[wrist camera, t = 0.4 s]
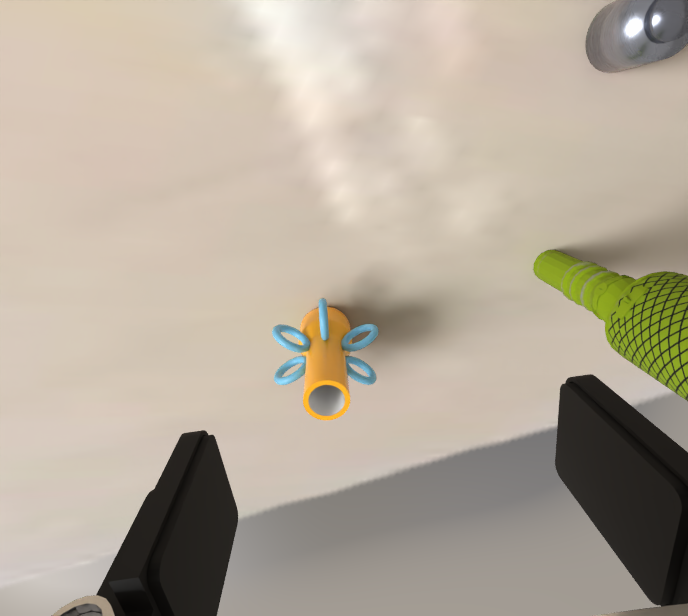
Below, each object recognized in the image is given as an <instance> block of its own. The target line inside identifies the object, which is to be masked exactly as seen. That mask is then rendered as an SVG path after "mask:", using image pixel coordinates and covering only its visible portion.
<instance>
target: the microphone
mask: <svg viewBox="0 0 688 616" xmlns="http://www.w3.org/2000/svg"><path fill="white" fill-rule="evenodd" d="M533 270H534V272H535V275H536V276H537V277H538V278H539V279H541V280H543V281H544V282H546V283H547V284H549V285H551V286H553V287H554V288H556V289H558V290H559V291H561V292H563V294H564V295H565V296H566V297H567V298H568V299H569V300H572V301H574V302H575V303H576V304H578V305H581V306H584V307H585V308H586V309H587V310H589V311H592V312H593V313H594V314H595V315H596V316H597V317H598V318H599V319H601V320H603V321H604V322H606V324H605V332H606V337H607V340H608V342H609V344H610V345H611V347H612V348H613V349H614V350H615V351H616V352H618V353H619V354H620V355H621V356H622V357H624V358H625V359H627V360H628V361H630V362H631V363H633V364H634V365H636V366H637V367H638V368H640V369H641V370H643V371H644V372H646V373H647V374H649V375H650V376H652V377H653V378H655V379H656V380H657V381H659V382H660V383H662V384H663V385H665V386H666V387H668V388H669V389H671V390H672V391H674V392H675V393H676V394H678V395H679V396H681V397H682V398H684V399H685V400H687V401H688V276H686V275H683V274H678V273H675V272H666V271H664V272H657V273H652V274H649V275H646V276H644V277H641V278H639V279H637V280H636V279H634V278H632V277H629V276H626V275H621V276H620V275H619V274H618V273H615V272H612V271H608V270H607V269H606V268H604V267H601V266H598V265H597V264H595V263H592V262H589V261H587V262H583V261H580V260H578V259H576V258H573V257H571V256H569V255H566V254H564V253H561V252H559V251H556V250H547V251H545V252H543V253H541V254H540V255H539V256H538V257H537V259H536V261H535V263H534V269H533Z"/></svg>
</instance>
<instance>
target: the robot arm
mask: <svg viewBox="0 0 688 616" xmlns="http://www.w3.org/2000/svg"><path fill="white" fill-rule="evenodd" d="M555 465H556V470H557V472H558V475H559V476H560V478H561V479H562V481H563V482H564V484H565V485H566V486H567V488H568V489H569V490H570V492H571V493H572V494H573V496H574V497H575V499H576V500H577V501H578V503H579V504H580V505H581V507H582V508H583V509H584V511H585V512H586V514H587V515H588V516H589V518H590V519H591V521H592V522H593V523H594V525H595V526H596V527H597V529H598V530H599V531H600V533H601V534H602V535H603V537H604V538H605V540H606V541H607V542H608V544H609V545H610V547H611V548H612V549H613V551H614V552H615V553H616V555H617V556H618V558H619V559H620V560H621V562H622V563H623V564H624V566H625V567H626V568H627V570H628V571H629V573H630V574H631V575H632V577H633V578H634V579H635V581H636V582H637V584H638V585H639V586H640V588H641V589H642V590H643V592H644V593H645V595H646V596H647V597H648V598H649V600H651V602H652V603H654V604H656V605H661V607H654V608H645V609H638V610H630V611H623V612H616V613H609V614H601V615H594V616H688V452H687V451H685V450H684V449H683V448H682V447H680V446H679V445H678V444H677V443H676V442H674V441H673V440H672V439H671V438H669V437H668V436H667V435H666V434H665V433H663V432H662V431H661V430H660V429H659V428H657V427H656V426H655V425H654V424H653V423H651V422H650V421H649V420H648V419H646V418H645V417H644V416H643V415H642V414H640V413H639V412H638V411H637V410H636V409H634V408H633V407H632V406H631V405H629V404H628V403H627V402H626V401H625V400H623V399H622V398H621V397H620V396H619V395H617V394H616V393H615V392H614V391H612V390H611V389H610V388H609V387H608V386H606V385H605V384H604V383H603V382H602V381H600V380H599V379H598V378H597V377H595V376H594V375H583V376H576V377H570V378H568V379H567V380H566V384H562V385H561V388H560V400H559V415H558V429H557V444H556V459H555ZM237 523H238V511H237V507H236V503H235V500H234V497H233V494H232V490H231V487H230V484H229V481H228V478H227V474H226V471H225V468H224V465H223V461H222V458H221V455H220V452H219V449H218V445H217V442H216V439H215V437H214V435H208V433H207V432H206V431H204V430H203V431H196V432H189V433H184V434H182V435H181V437H180V439H179V441H178V443H177V445H176V447H175V449H174V451H173V453H172V455H171V457H170V459H169V461H168V463H167V465H166V467H165V469H164V471H163V473H162V475H161V477H160V479H159V481H158V483H157V485H156V487H155V489H154V490H152V491H151V492H149V494H148V495H147V497H146V499H145V501H144V502H143V504H142V506H141V508H140V510H139V512H138V514H137V516H136V518H135V520H134V522H133V524H132V526H131V528H130V530H129V532H128V534H127V536H126V538H125V540H124V542H123V544H122V546H121V548H120V550H119V552H118V554H117V556H116V557H115V559H114V561H113V563H112V565H111V567H110V569H109V571H108V573H107V575H106V577H105V579H104V581H103V583H102V585H101V587H100V589H99V591H98V593H97V595H96V596H85V597H83V598H80V599H77V600H74V601H72V602H71V603H69V604H67V605H65V606H64V607H62V608H60V610H58V611H57V612H56V613H54V614H53V615H52V616H217V611H218V607H219V602H220V598H221V594H222V589H223V585H224V581H225V576H226V572H227V568H228V562H229V559H230V554H231V550H232V545H233V541H234V537H235V532H236V528H237Z"/></svg>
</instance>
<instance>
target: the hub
mask: <svg viewBox="0 0 688 616" xmlns="http://www.w3.org/2000/svg"><path fill="white" fill-rule="evenodd" d="M687 43H688V0H616V1H614V2H612V3H610V4H608V5H607V6H605V7H604V8H603V9H602V10H601V11H600V12H599V13H598V14H597V15H596V16H595V18H594V19H593V21H592V23H591V25H590V27H589V29H588V32H587V37H586V53H587V56H588V59H589V61H590V63H591V64H592V65H593V66H594V67H595V68H596V69H598V70H599V71H602V72H605V73H614V72H618V71H622V70H626V69H629V68H633V67H637V66H641V65H644V64H648V63H652V62H655V61H659V60H663V59H666V58H669V57H671V56H673V55H675V54H676V53H678V52H679V51H680V50H681V49H683V48H684V47H685V46H686V45H687Z"/></svg>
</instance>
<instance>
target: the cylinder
mask: <svg viewBox="0 0 688 616" xmlns="http://www.w3.org/2000/svg"><path fill="white" fill-rule="evenodd" d="M366 331H371V332H370V334H369V335H368V336H367V337H365V338H364V339H362V340H361V341H359V342H356V343H353V344H352V338H354V337H355V336H356V335H358V334H360V333H363V332H366ZM280 332H286V333H289V334H291V335H293V336H295V337H296V338H298V339H299V345H298V344H295V343H292V342H290V341H289V340H287V339H286V338H284V337H283V336H282V335H281V333H280ZM272 334H273V337H274V338H275V340H276V341H277V342H278V343H279V344H280V345H282V346H283V347H285V348H287V349H289V350H291V351H294V352H298V353H301V354H302V356H299V357H295V358H293V359H291V360H289V361H287V362H286V363H285V364H283V365H282V366H281V367H280V368H279V369H278V370H277V372H276V373H275V376H274V380H275V382H276V383H277V384H279V385H286V384H289V383H292V382H294V381H295V380H297V379H299V378H300V377H301V376H302V375H304V374H305V383H304V396H303V404H304V407H305V409H306V411H307V412H308V413H309V414H310V415H311V416H313V417H315V418H317V419H320V420H332V419H336V418H338V417H340V416H341V415H343V414H344V413H345V412H346V411H347V409H348V407H349V404H350V394H349V385H348V376H347V374H348V375H349V376H350V377H351V378H353V379H354V380H356V381H358V382H360V383H362V384H367V385H370V384H373V383H374V382H375V381H376V374H375V372H374V370H373V369H372V368H371V367H370V366H369V365H368V364H366V363H365V362H364V361H362V360H360V359H358V358H355V357H352V356H349V354H350V352H352V351H357V350H360V349H362V348H364V347H366V346H367V345H369V344H370V343H371V342H373V341H374V340H375V338H376V337H377V335H378V328H377V326H376V325H374V324H364V325H361V326H358V327H356V328H354V329H353V330H351V328H350V324H349V321H348V319H347V317H346V316H345V315H344V314H343V313H342V312H341V311H339V310H337V309H335V308H331V307H327V302H326V300H325V299H324V298H322V299H320V300H319V308H316V309H314V310H312V311H310V312H309V313H308V314H307V315H306V316H305V317H304V319H303V320H302V323H301V327H300V331H299V330H297V329H295V328H293V327H291V326H288V325H277V326H275V327H274V328H273V331H272ZM300 363H303V364H302V366H301V367H300V368H299V369H298V370H297V371H295V372H294V373H292V374H291V375H289V376H286V377H282V376H283V374H284V373H285V372H286V371H287V370H288V369H290V368H291V367H293V366H295V365H297V364H300ZM348 363H351V364H354V365H357V366H358V367H360V368H361V369H363V370H364V371H365V372H366V373H367V374H368V376H369V377H365V376H362V375H360V374H359V373H357V372H356V371H354V370H353V369H352V368H351V367H350V366H349V364H348Z"/></svg>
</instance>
